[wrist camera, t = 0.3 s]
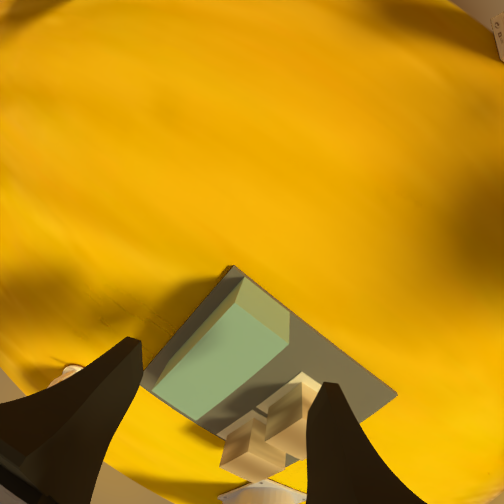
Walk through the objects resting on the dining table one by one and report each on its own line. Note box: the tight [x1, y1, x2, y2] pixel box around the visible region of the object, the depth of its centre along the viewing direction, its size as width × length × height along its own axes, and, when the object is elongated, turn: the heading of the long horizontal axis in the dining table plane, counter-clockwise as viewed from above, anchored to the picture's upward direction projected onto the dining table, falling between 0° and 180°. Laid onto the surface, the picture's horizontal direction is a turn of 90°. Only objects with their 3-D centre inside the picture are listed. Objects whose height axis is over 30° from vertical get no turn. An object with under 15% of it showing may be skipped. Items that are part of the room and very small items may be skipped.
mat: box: [140, 265, 398, 467], centre depth 24 cm, size 15×18×1 cm
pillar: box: [265, 382, 317, 460], centre depth 21 cm, size 4×4×4 cm
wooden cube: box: [219, 418, 286, 483], centre depth 23 cm, size 4×4×4 cm
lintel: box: [152, 277, 290, 420], centre depth 20 cm, size 10×4×4 cm, turn 141°
